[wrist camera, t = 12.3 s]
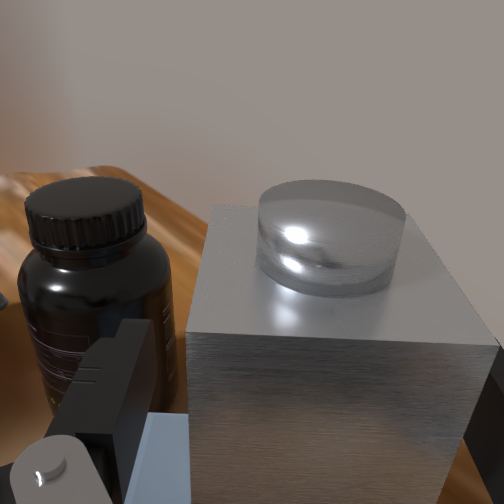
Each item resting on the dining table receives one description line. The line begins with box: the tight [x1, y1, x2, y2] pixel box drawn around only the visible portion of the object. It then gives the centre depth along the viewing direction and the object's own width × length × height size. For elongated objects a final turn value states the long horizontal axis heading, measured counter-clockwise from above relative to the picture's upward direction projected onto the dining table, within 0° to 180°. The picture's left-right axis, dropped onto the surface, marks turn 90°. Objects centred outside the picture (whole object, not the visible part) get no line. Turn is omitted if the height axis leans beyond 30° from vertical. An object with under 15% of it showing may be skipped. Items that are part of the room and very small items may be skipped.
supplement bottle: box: [17, 176, 178, 416], centre depth 22 cm, size 7×7×12 cm
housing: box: [185, 180, 500, 504], centre depth 12 cm, size 6×6×12 cm
